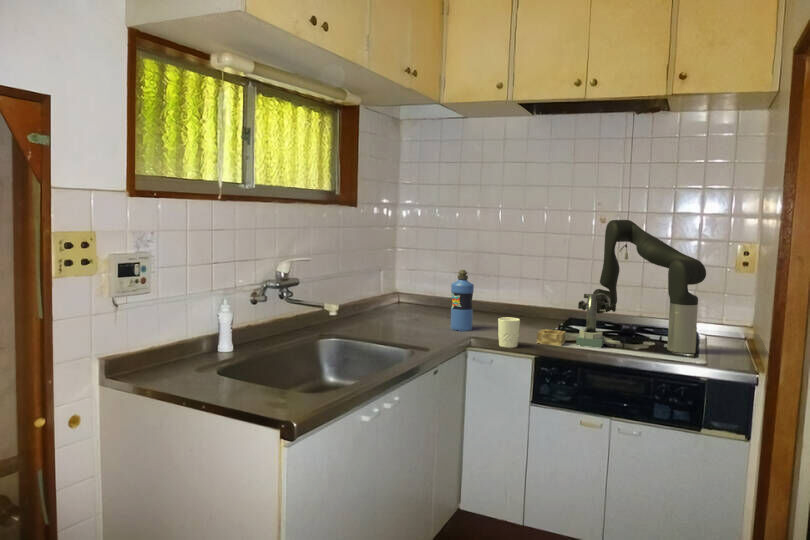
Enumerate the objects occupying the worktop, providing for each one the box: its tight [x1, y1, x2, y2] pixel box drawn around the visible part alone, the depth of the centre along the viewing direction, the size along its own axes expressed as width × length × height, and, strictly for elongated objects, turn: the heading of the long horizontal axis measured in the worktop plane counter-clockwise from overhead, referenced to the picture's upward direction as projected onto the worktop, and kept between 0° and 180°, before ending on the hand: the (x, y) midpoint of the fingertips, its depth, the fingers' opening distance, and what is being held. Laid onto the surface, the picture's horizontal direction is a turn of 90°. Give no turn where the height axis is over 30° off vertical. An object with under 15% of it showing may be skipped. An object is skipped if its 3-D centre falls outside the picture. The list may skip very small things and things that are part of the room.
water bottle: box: [450, 269, 475, 332], centre depth 253 cm, size 9×9×25 cm
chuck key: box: [583, 293, 601, 333], centre depth 227 cm, size 6×3×16 cm, turn 66°
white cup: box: [497, 316, 521, 349], centre depth 223 cm, size 8×8×10 cm
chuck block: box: [575, 329, 621, 348], centre depth 226 cm, size 15×9×5 cm, turn 66°
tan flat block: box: [536, 328, 567, 346], centre depth 230 cm, size 9×9×4 cm
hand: (595, 308), depth 237 cm, fingers open, 8 cm apart
